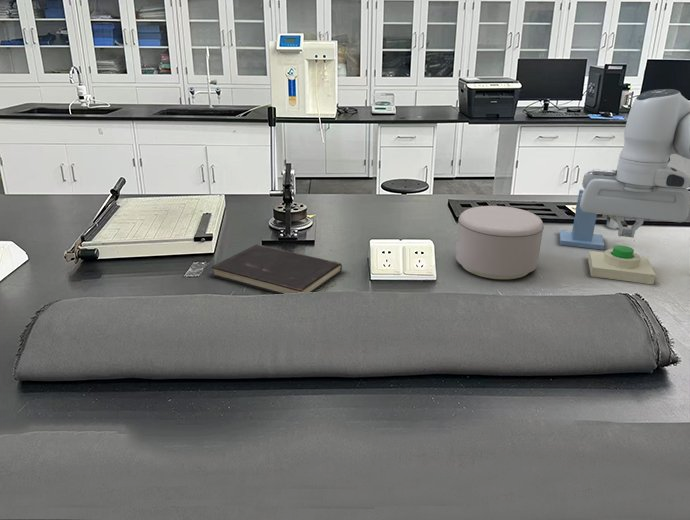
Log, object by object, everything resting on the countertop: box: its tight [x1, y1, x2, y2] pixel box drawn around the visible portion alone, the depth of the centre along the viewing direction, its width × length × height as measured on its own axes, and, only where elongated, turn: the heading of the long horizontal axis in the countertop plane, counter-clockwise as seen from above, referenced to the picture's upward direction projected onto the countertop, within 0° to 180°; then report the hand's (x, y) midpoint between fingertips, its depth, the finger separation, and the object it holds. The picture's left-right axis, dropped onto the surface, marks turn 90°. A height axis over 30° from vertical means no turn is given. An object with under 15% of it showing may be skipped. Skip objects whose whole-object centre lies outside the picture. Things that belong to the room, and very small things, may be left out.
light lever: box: [606, 215, 629, 227], centre depth 129 cm, size 12×6×2 cm
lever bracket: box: [558, 189, 605, 251], centre depth 132 cm, size 10×8×13 cm
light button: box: [612, 244, 635, 259], centre depth 115 cm, size 4×4×2 cm
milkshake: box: [605, 215, 619, 229], centre depth 143 cm, size 4×5×10 cm
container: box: [454, 205, 545, 280], centre depth 118 cm, size 18×18×12 cm
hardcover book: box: [210, 243, 343, 295], centre depth 115 cm, size 16×23×2 cm
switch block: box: [587, 248, 656, 285], centre depth 116 cm, size 12×10×4 cm
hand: (625, 236), depth 114 cm, fingers closed
